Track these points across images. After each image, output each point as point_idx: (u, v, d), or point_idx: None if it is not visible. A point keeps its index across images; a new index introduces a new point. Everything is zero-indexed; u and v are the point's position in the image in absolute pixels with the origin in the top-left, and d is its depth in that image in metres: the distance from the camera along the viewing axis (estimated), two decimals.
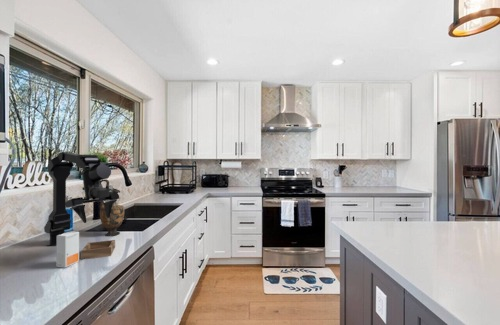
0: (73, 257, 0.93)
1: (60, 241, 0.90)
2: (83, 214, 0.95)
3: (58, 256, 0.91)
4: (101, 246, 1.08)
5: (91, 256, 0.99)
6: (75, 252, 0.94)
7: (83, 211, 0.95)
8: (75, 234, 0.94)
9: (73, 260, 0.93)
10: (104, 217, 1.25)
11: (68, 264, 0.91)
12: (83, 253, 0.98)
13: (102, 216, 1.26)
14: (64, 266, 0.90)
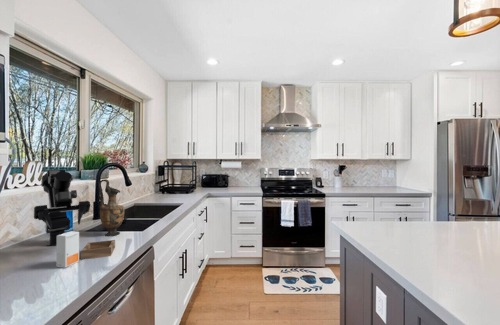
0: (73, 257, 0.93)
1: (60, 241, 0.90)
2: (48, 220, 0.96)
3: (58, 256, 0.91)
4: (101, 246, 1.08)
5: (91, 256, 0.99)
6: (75, 252, 0.94)
7: (48, 217, 0.96)
8: (75, 234, 0.94)
9: (73, 260, 0.93)
10: (104, 217, 1.25)
11: (68, 264, 0.91)
12: (83, 253, 0.98)
13: (102, 216, 1.26)
14: (64, 266, 0.90)
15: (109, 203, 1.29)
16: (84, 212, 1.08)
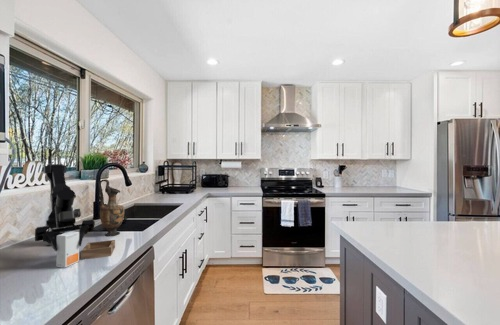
0: (73, 257, 0.93)
1: (60, 241, 0.90)
2: (53, 241, 0.90)
3: (58, 256, 0.91)
4: (101, 246, 1.08)
5: (91, 256, 0.99)
6: (75, 252, 0.94)
7: (53, 238, 0.91)
8: (75, 234, 0.94)
9: (73, 260, 0.93)
10: (104, 217, 1.25)
11: (68, 264, 0.91)
12: (83, 253, 0.98)
13: (102, 216, 1.26)
14: (64, 266, 0.90)
15: (109, 203, 1.29)
16: (86, 232, 1.01)
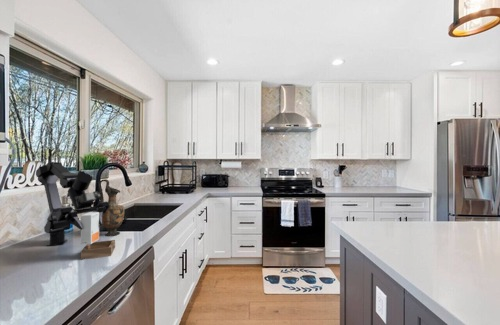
0: (95, 235, 1.01)
1: (85, 220, 0.97)
2: (77, 221, 0.97)
3: (83, 234, 0.97)
4: (101, 246, 1.08)
5: (91, 256, 0.99)
6: (97, 230, 1.02)
7: (77, 218, 0.97)
8: (97, 214, 1.02)
9: (95, 237, 1.01)
10: (104, 217, 1.25)
11: (92, 241, 0.99)
12: (83, 253, 0.98)
13: (102, 216, 1.26)
14: (90, 243, 0.98)
15: (109, 203, 1.29)
16: None
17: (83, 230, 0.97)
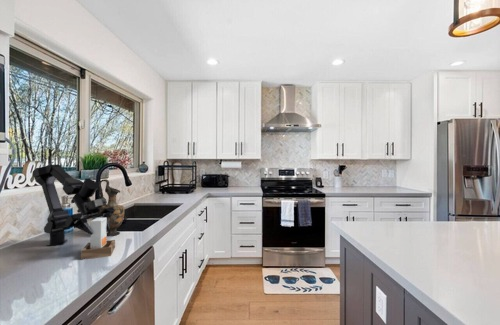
0: (104, 239, 1.05)
1: (95, 225, 1.01)
2: (87, 226, 1.00)
3: (93, 239, 1.01)
4: None
5: (91, 256, 0.99)
6: (105, 235, 1.06)
7: (87, 224, 1.01)
8: (105, 219, 1.06)
9: (104, 242, 1.05)
10: None
11: (102, 245, 1.03)
12: (83, 253, 0.98)
13: None
14: (100, 247, 1.02)
15: (109, 203, 1.29)
16: None
17: (93, 235, 1.01)
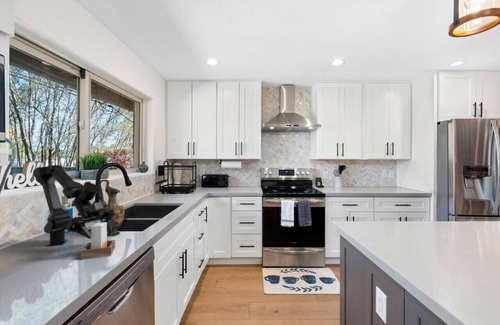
0: (104, 244, 1.05)
1: (95, 230, 1.02)
2: (86, 230, 0.99)
3: (93, 244, 1.01)
4: None
5: (91, 256, 0.99)
6: (105, 240, 1.06)
7: (85, 228, 1.00)
8: (105, 224, 1.06)
9: (104, 247, 1.05)
10: None
11: None
12: (83, 253, 0.98)
13: None
14: None
15: (109, 203, 1.29)
16: None
17: (93, 240, 1.01)
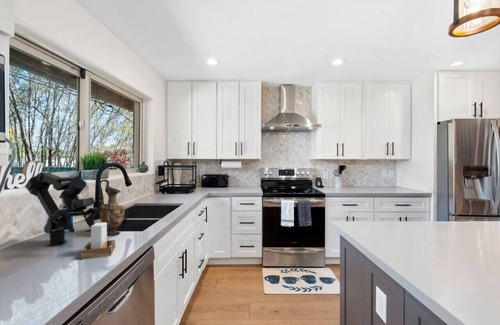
0: (104, 244, 1.05)
1: (95, 230, 1.02)
2: (70, 224, 1.02)
3: (93, 244, 1.01)
4: None
5: (91, 256, 0.99)
6: (105, 240, 1.06)
7: (70, 221, 1.02)
8: (105, 224, 1.06)
9: (104, 247, 1.05)
10: (104, 217, 1.25)
11: None
12: (83, 253, 0.98)
13: (102, 216, 1.26)
14: None
15: (109, 203, 1.29)
16: None
17: (93, 240, 1.01)
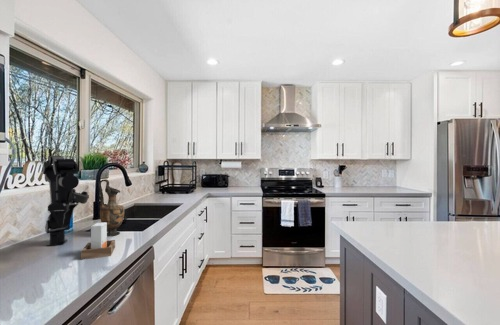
0: (104, 244, 1.05)
1: (95, 230, 1.02)
2: (63, 218, 1.00)
3: (93, 244, 1.01)
4: None
5: (91, 256, 0.99)
6: (105, 240, 1.06)
7: (64, 215, 1.00)
8: (105, 224, 1.06)
9: (104, 247, 1.05)
10: (104, 217, 1.25)
11: None
12: (83, 253, 0.98)
13: (102, 216, 1.26)
14: None
15: (109, 203, 1.29)
16: None
17: (93, 240, 1.01)
